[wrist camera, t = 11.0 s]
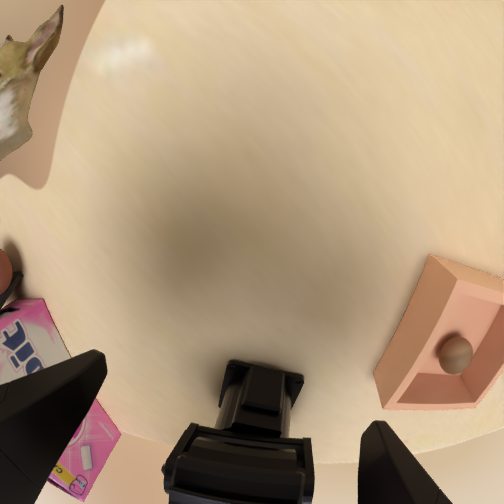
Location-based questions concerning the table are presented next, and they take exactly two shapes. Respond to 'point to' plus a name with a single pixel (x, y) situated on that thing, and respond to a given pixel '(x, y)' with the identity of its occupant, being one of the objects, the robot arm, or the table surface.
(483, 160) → the table surface
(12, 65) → the ceramic sculpture
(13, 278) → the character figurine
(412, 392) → the dish
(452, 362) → the ball
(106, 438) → the gum box
